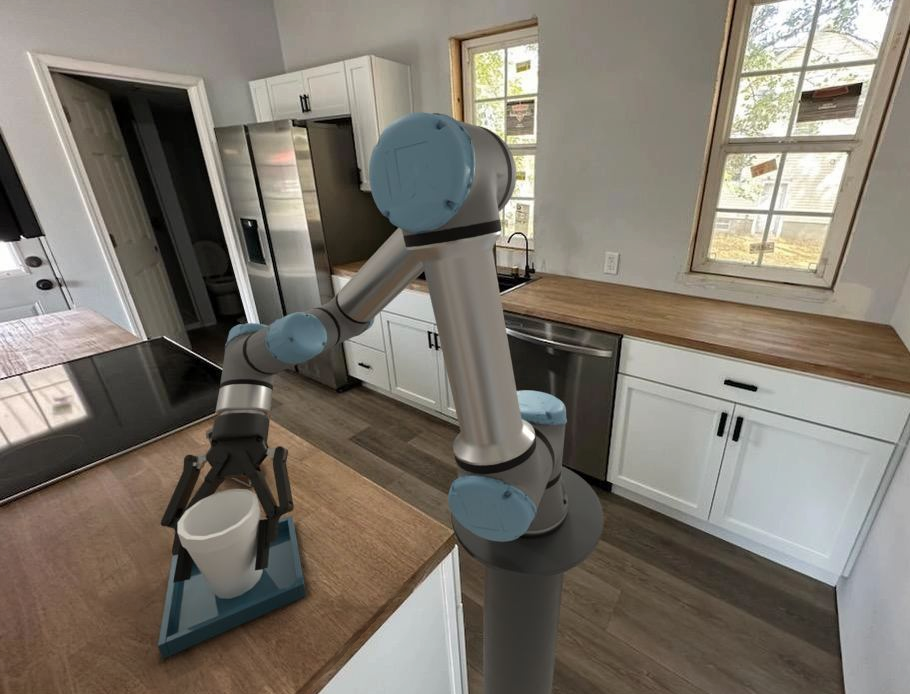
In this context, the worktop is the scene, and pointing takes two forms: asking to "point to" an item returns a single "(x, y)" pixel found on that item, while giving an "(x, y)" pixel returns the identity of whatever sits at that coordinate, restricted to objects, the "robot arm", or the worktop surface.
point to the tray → (206, 615)
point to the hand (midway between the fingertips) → (222, 574)
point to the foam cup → (224, 540)
